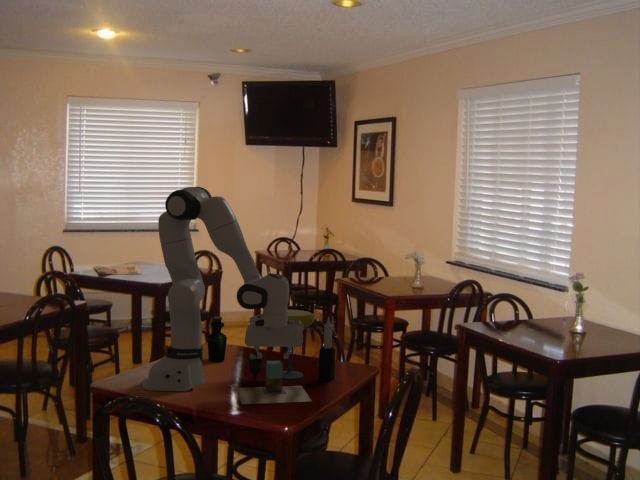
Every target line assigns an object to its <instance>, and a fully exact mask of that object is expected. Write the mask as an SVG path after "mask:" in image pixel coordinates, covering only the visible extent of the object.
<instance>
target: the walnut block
mask: <svg viewBox="0 0 640 480" xmlns="http://www.w3.org/2000/svg"><path fill="white" fill-rule="evenodd" d="M282 386H283V378H276V379H268V377H267V376H266V375H265V387H266V390H267V392H268V393H276V392H282Z"/></svg>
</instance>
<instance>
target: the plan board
mask: <svg viewBox="0 0 640 480" xmlns="http://www.w3.org/2000/svg"><path fill="white" fill-rule="evenodd" d="M235 391H236V394H237V396H238V399H239V402H240V403H241V405H258V404H260V405H261V404H279V403H280V404H283V403H285V404H286V403H306V402H307V403H308V402H313V400H312V398H310V396H309V394H308V393H307V392H306V390H305V389H304V387H303V386H302V385H290V386H287V385H284V386H283V385H282V392H276V393H268V392H267V390H266V386H254V387H235Z"/></svg>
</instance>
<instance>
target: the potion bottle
mask: <svg viewBox="0 0 640 480" xmlns="http://www.w3.org/2000/svg"><path fill="white" fill-rule="evenodd" d="M212 320H213V321H211V322H210V325H209V326H210V327H211V328H212V330H213V332H211V333H210V334H209V335H207V336H206V338H207V342H206V343H207V355H208V361H209V362H211V363H222V362H224V361H225V359H226V351H227V350H226V347H227V341H228V337H227V335H226V334H225V333H223V332H222V328H224V327H225V323H224V322H223V321H222V320H223V317H222V316H213V317H212Z"/></svg>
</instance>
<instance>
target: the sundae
mask: <svg viewBox="0 0 640 480" xmlns="http://www.w3.org/2000/svg"><path fill="white" fill-rule="evenodd" d="M258 351H259V353H262V354H263V352H262V351H260V349H259V350H258ZM246 359H247V361H248V368H249V373H251V374H252V381H251V382H252V383H256V382H258V381H257V376H258V374H260V372H261V369H262V363H263V360H264V359H265V356H263V355H262V359H257V352H256V350H255V348H253V349H252V352H251V353H250V354H249V355H248V356H246Z"/></svg>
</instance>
